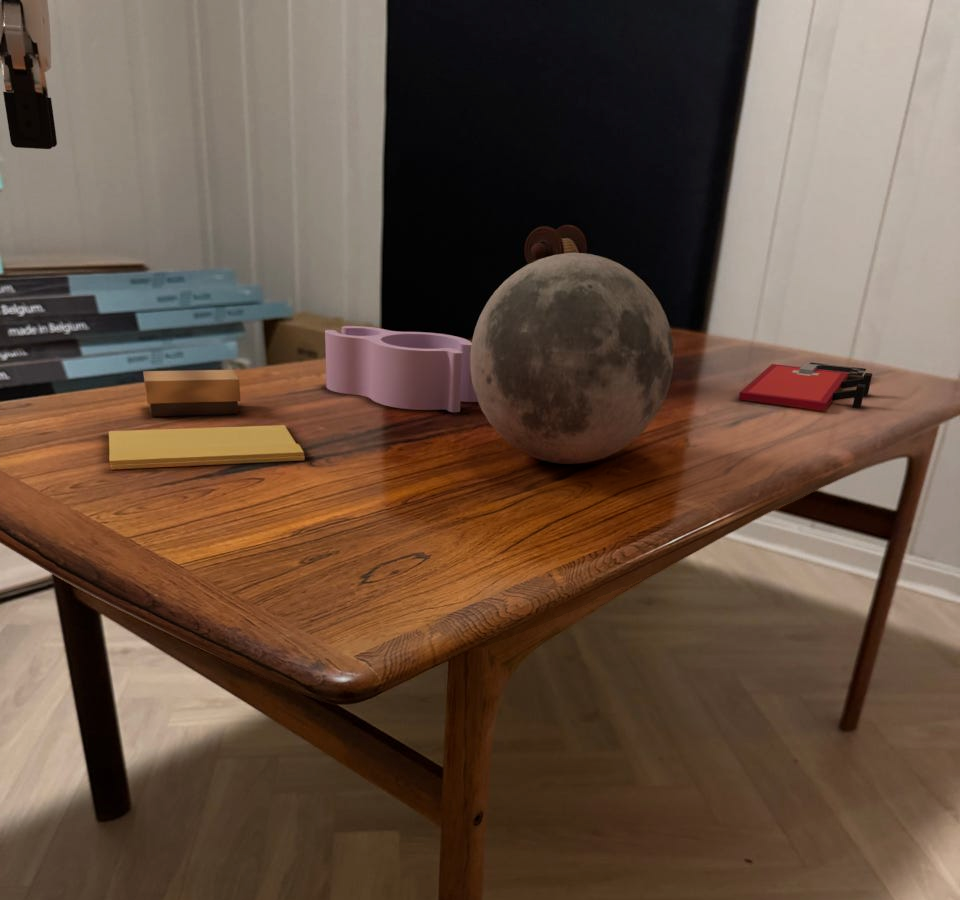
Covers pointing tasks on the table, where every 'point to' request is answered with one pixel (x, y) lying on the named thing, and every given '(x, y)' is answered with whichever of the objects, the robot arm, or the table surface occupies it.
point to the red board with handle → (807, 385)
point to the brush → (192, 392)
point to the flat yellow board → (201, 446)
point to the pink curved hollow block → (400, 367)
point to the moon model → (571, 358)
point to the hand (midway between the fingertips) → (35, 147)
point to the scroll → (554, 242)
